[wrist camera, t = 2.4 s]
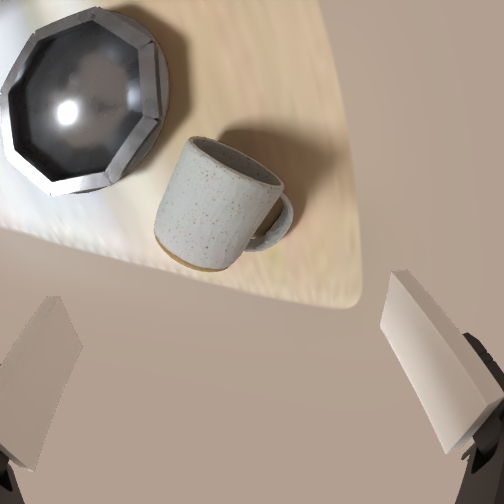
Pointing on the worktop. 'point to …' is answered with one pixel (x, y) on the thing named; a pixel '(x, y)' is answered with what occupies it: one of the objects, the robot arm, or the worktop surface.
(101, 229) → the worktop surface
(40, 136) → the ring plate
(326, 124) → the worktop surface
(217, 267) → the ceramic mug
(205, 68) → the worktop surface
